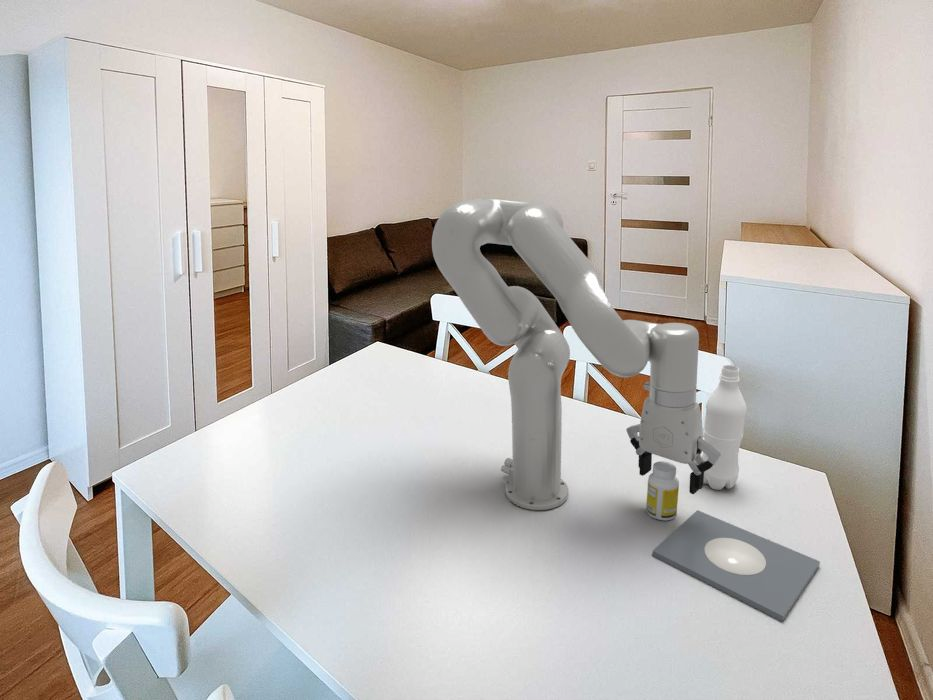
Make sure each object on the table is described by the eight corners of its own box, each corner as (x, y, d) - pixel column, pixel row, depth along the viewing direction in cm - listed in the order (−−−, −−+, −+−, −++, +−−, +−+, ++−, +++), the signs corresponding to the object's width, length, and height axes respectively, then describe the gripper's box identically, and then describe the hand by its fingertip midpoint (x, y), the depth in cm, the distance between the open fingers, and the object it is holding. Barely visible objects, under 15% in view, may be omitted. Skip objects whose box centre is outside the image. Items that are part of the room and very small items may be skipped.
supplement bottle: (679, 509, 103) (683, 463, 100) (672, 525, 99) (676, 477, 96) (650, 501, 106) (653, 456, 103) (642, 516, 102) (645, 469, 99)
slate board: (652, 555, 91) (652, 550, 91) (696, 514, 101) (697, 509, 101) (782, 621, 77) (783, 615, 77) (819, 566, 87) (820, 560, 87)
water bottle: (740, 494, 107) (756, 374, 99) (702, 491, 108) (714, 373, 101) (731, 475, 114) (745, 362, 106) (695, 473, 115) (706, 360, 107)
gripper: (617, 390, 99) (616, 474, 104) (712, 414, 86) (707, 508, 91) (639, 378, 103) (637, 459, 108) (732, 399, 91) (726, 489, 96)
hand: (669, 481), depth 100 cm, fingers open, 9 cm apart
